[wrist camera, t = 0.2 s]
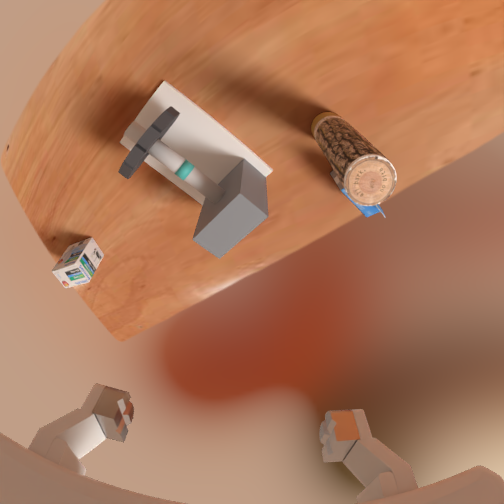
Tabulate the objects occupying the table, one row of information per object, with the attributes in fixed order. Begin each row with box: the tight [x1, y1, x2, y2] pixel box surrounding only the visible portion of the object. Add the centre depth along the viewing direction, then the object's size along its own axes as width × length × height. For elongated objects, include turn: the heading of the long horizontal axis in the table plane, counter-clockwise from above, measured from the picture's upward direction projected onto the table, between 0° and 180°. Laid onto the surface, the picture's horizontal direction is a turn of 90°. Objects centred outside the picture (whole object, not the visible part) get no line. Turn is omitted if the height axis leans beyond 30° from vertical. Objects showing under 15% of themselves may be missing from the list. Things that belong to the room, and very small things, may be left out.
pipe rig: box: [119, 81, 273, 259], centre depth 49 cm, size 16×28×16 cm, turn 47°
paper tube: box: [311, 112, 397, 206], centre depth 42 cm, size 7×7×25 cm
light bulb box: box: [52, 237, 104, 288], centre depth 67 cm, size 11×7×11 cm, turn 107°
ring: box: [119, 106, 180, 179], centre depth 45 cm, size 14×2×14 cm, turn 137°
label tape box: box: [330, 170, 385, 217], centre depth 54 cm, size 9×4×12 cm, turn 49°
